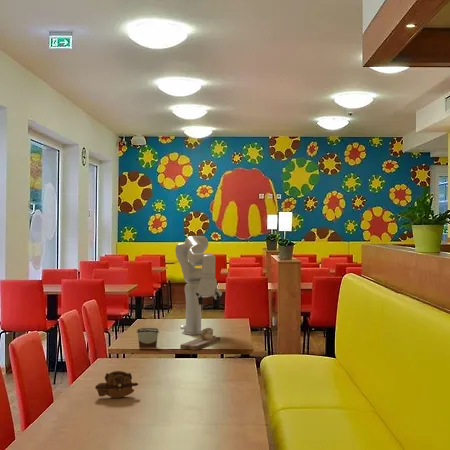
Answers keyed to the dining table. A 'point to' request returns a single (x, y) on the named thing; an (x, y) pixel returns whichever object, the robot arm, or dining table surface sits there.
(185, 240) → the robot arm
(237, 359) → the dining table surface
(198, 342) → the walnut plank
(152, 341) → the food container
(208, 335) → the beige rectangular block
